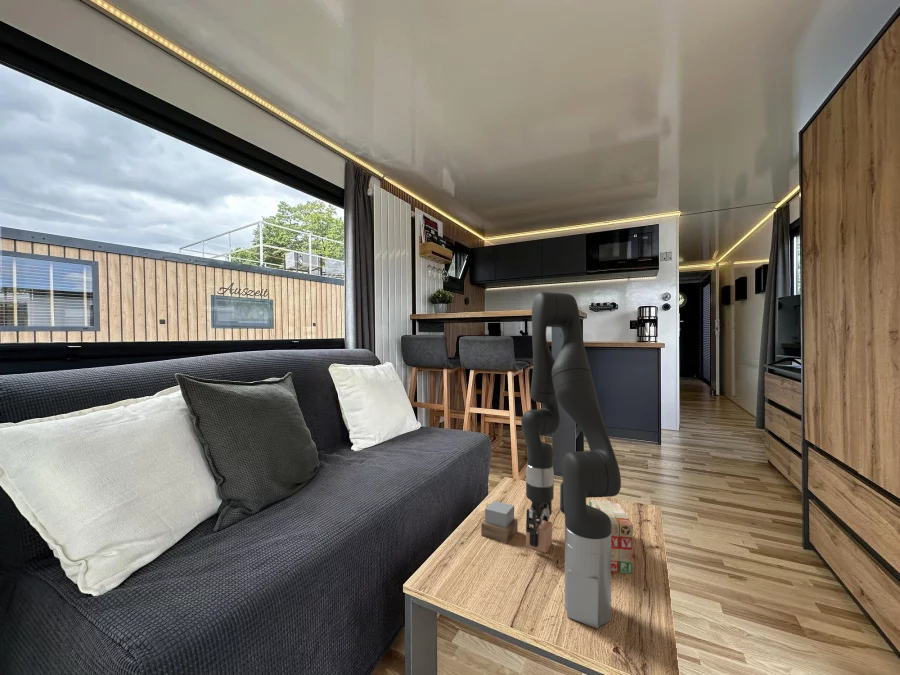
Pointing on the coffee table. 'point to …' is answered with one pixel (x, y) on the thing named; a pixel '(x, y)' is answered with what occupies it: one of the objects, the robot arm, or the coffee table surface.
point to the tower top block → (499, 514)
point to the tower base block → (499, 531)
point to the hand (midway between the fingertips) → (539, 538)
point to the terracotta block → (542, 537)
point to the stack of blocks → (618, 535)
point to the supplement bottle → (561, 498)
